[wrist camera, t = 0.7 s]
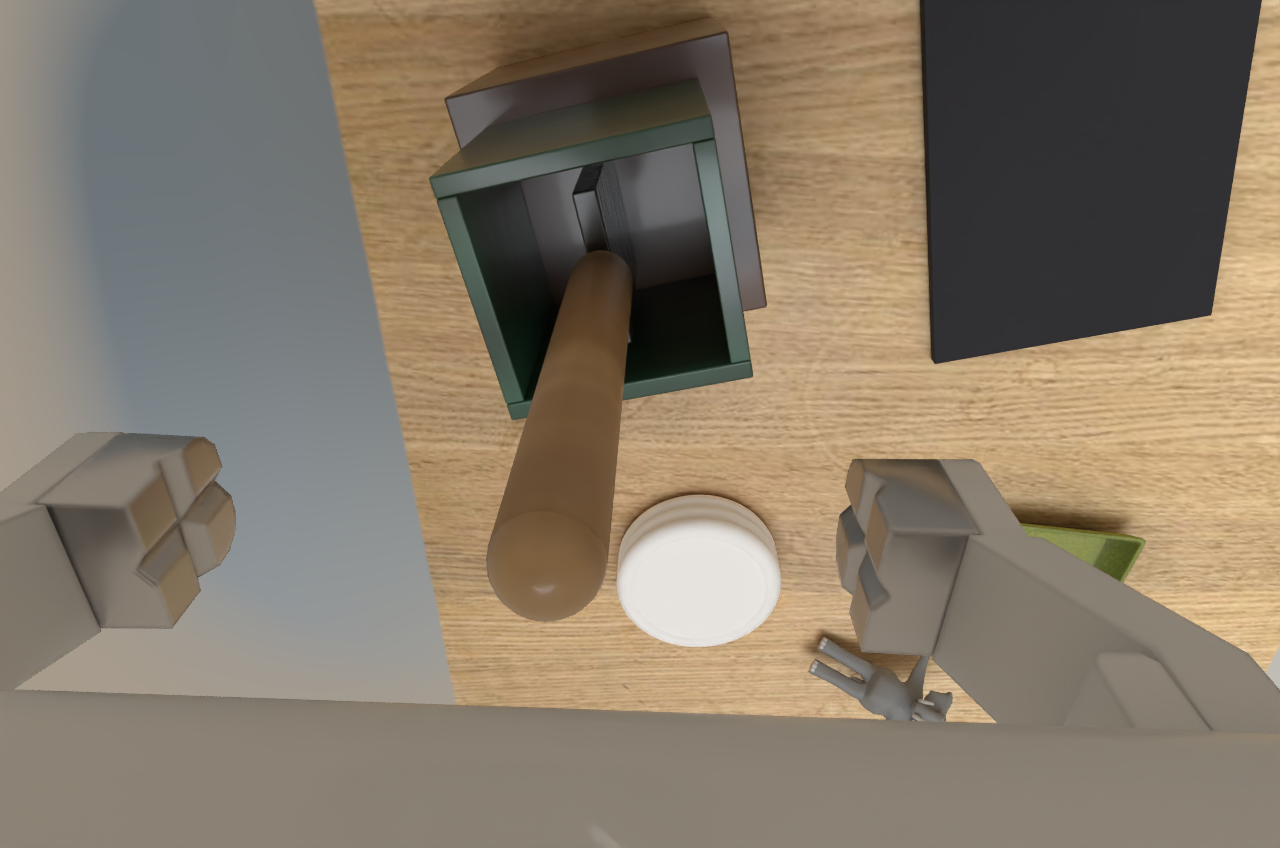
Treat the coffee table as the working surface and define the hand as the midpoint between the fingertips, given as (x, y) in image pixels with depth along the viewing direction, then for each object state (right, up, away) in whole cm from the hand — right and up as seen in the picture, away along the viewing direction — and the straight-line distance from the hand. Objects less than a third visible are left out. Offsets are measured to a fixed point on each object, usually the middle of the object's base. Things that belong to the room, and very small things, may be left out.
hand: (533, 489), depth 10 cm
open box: (+1, +14, +27) cm, 31 cm away
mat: (+22, +13, +27) cm, 37 cm away
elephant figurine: (+17, -16, +44) cm, 50 cm away
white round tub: (+5, -7, +40) cm, 41 cm away
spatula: (0, +9, +19) cm, 21 cm away
